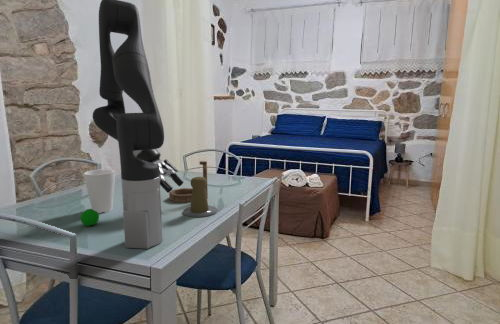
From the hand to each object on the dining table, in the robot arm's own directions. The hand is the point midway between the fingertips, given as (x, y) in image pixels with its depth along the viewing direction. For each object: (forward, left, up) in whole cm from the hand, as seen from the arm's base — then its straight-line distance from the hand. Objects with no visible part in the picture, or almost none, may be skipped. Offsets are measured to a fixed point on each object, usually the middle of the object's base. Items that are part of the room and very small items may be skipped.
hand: (176, 187), depth 119 cm
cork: (-1, -8, -7) cm, 11 cm away
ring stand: (+14, 0, -8) cm, 16 cm away
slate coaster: (-1, -8, -8) cm, 11 cm away
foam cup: (-3, +25, -8) cm, 26 cm away
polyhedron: (-17, +21, -8) cm, 28 cm away
